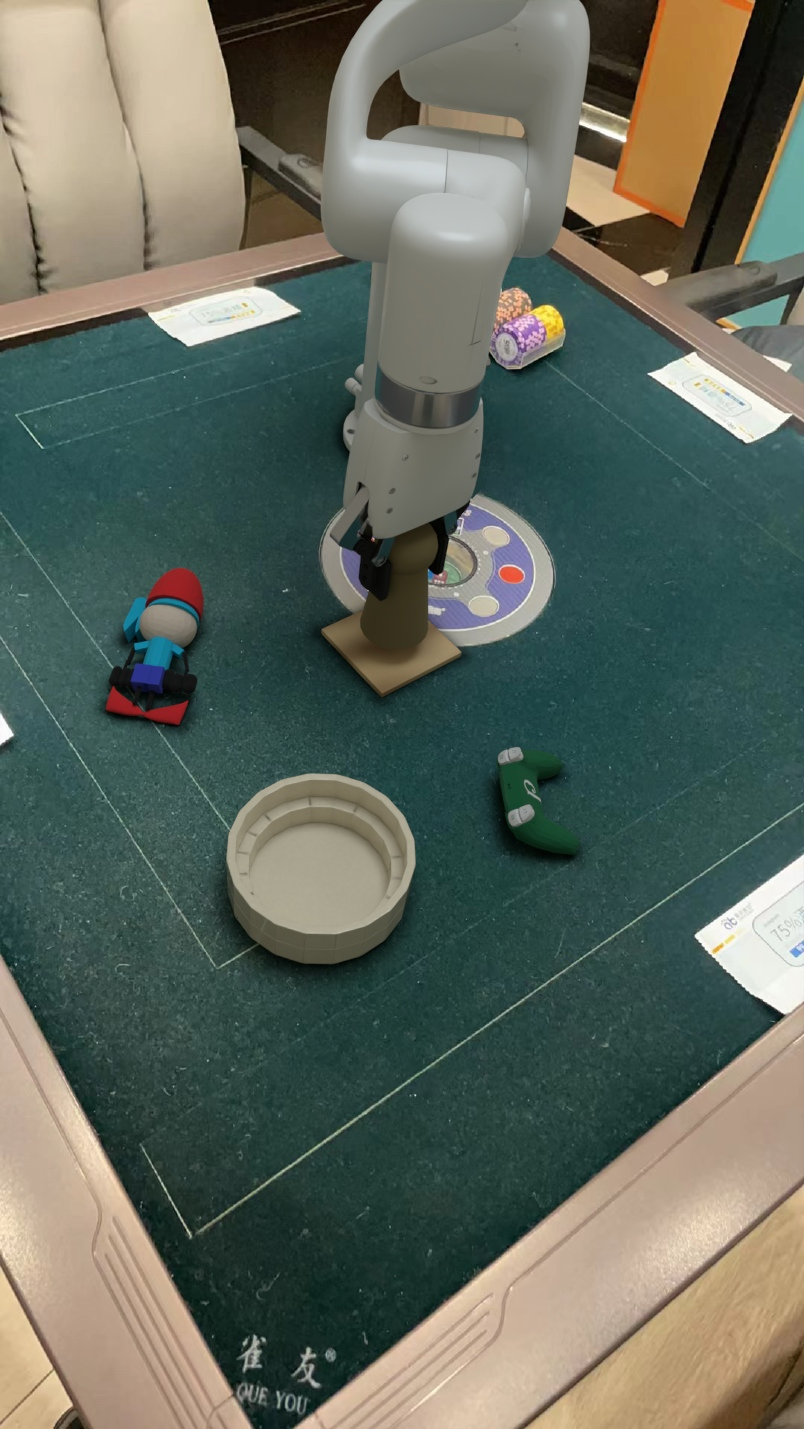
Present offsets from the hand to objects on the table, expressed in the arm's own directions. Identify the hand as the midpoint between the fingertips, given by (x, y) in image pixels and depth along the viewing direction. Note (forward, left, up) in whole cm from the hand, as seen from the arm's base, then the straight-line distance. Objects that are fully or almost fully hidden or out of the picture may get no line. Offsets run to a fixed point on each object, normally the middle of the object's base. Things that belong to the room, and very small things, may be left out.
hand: (401, 575), depth 87 cm
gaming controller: (+20, -1, -9) cm, 22 cm away
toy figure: (-10, -17, -9) cm, 22 cm away
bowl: (+16, -19, -9) cm, 27 cm away
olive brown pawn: (0, 0, -6) cm, 6 cm away
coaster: (0, 0, -9) cm, 9 cm away
